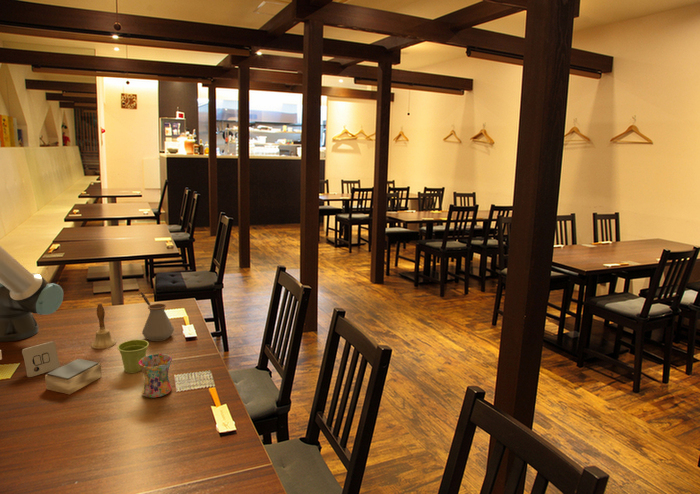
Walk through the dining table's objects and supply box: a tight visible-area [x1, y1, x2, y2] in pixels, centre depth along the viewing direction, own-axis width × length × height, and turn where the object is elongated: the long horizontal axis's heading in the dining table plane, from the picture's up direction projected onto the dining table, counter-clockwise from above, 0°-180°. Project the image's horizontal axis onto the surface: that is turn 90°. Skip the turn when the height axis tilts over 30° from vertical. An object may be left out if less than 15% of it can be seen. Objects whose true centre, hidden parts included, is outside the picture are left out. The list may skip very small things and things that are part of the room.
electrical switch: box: [21, 341, 61, 378], centre depth 153 cm, size 9×5×9 cm, turn 141°
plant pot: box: [117, 339, 150, 374], centre depth 156 cm, size 9×9×9 cm
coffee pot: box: [138, 291, 175, 342], centre depth 185 cm, size 21×12×15 cm, turn 45°
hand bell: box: [91, 303, 117, 350], centre depth 173 cm, size 8×8×16 cm
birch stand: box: [44, 358, 103, 395], centre depth 146 cm, size 12×9×5 cm
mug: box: [139, 353, 173, 398], centre depth 142 cm, size 12×9×11 cm
